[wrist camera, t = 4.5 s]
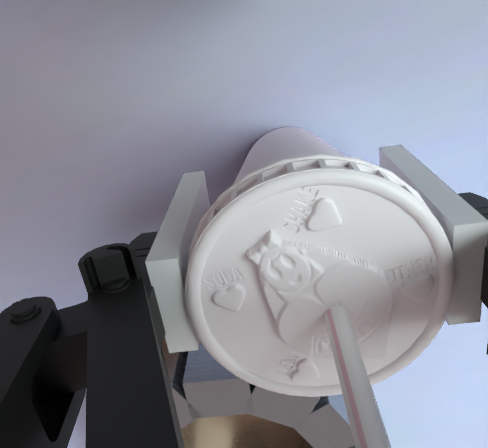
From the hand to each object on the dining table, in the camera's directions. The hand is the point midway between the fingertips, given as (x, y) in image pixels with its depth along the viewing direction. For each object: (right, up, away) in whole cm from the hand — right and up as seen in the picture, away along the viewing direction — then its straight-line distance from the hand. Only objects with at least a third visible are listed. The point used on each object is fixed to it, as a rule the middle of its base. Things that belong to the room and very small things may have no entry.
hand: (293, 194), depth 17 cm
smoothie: (0, +1, +3) cm, 3 cm away
